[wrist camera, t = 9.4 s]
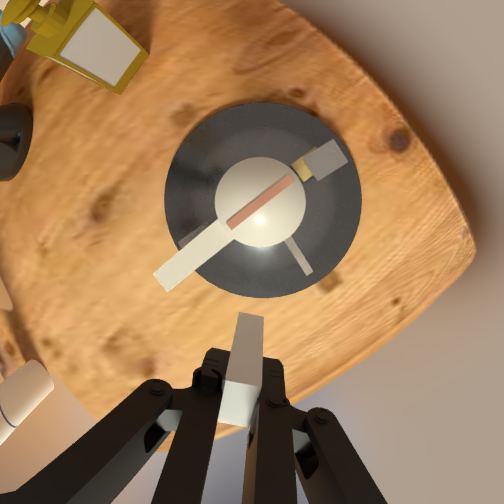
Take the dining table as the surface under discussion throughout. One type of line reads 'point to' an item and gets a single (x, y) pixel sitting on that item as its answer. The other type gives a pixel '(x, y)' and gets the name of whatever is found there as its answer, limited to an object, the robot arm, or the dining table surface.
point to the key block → (245, 213)
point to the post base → (288, 151)
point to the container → (22, 395)
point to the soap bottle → (80, 39)
